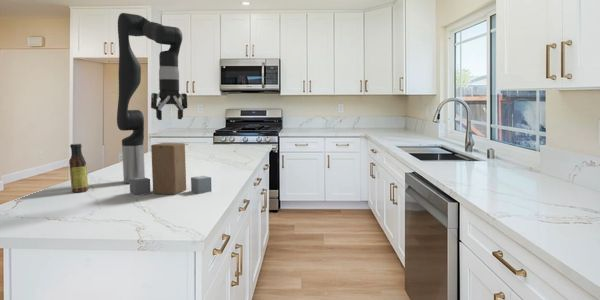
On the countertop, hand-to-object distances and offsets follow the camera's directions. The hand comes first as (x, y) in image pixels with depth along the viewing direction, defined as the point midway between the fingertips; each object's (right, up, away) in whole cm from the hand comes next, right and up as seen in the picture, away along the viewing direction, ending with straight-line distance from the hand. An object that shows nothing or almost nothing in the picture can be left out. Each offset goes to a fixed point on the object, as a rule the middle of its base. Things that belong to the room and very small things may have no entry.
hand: (169, 119), depth 170 cm
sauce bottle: (-40, -30, +8) cm, 50 cm away
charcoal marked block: (-13, -30, +4) cm, 33 cm away
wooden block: (-2, -30, +7) cm, 31 cm away
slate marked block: (+11, -30, +7) cm, 32 cm away
